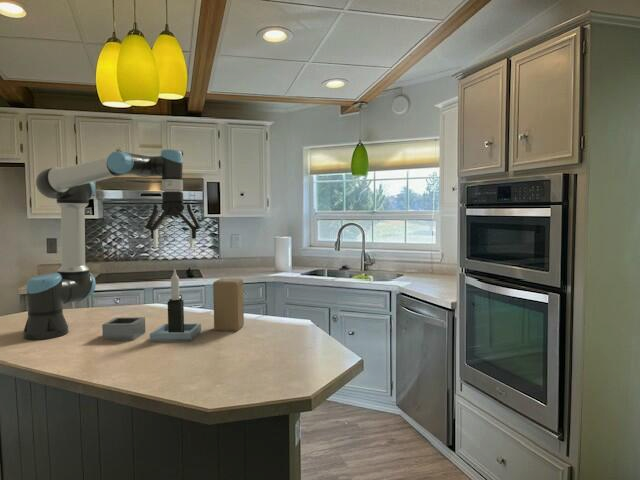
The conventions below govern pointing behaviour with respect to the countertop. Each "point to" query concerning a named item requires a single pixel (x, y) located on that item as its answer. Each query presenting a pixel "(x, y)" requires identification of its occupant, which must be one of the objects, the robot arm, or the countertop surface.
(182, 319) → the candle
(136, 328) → the collar
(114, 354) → the countertop surface
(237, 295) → the wooden block
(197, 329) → the tray
